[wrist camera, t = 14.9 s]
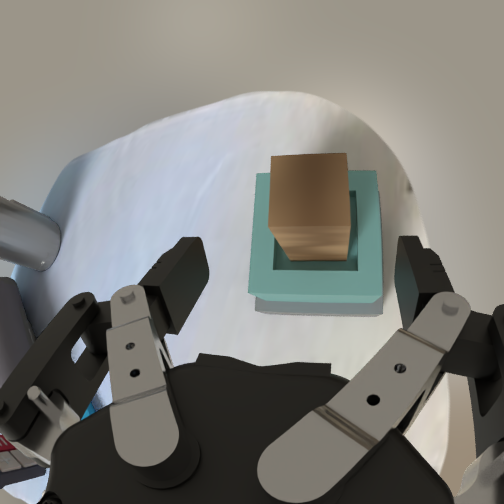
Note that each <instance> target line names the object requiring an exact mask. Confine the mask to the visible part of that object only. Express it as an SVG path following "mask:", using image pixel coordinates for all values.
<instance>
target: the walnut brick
mask: <svg viewBox="0 0 504 504" xmlns="http://www.w3.org/2000/svg"><path fill="white" fill-rule="evenodd" d="M350 227H351V221H350V198H349V181H348V167H347V155H346V153H327V154H301V155H283V156H271V171H270V193H269V214H268V228H269V229H270V231H271V232H272V234H273V235H274V237H275V238H276V240H277V241H278V243H279V244H280V246H281V247H282V249H283V250H284V252H285V253H286V255H287V256H288V258H289V259H290V261H347V254H348V245H349V237H350Z"/></svg>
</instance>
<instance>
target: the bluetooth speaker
mask: <svg viewBox="0 0 504 504" xmlns="http://www.w3.org/2000/svg"><path fill="white" fill-rule="evenodd" d="M35 341H36V339H35V335H34V332H33V329H32V326H31V324H30V322H28V320H27V317H26V313H25V310H24V307H23V303H22V300H21V296H20V293H19V289H18V286H17V284H16V282H15V281H14V280H13V279H11V278H9V277H0V388H1V387H2V385H3V384H4V383H5V381H6V380H7V378H8V377H9V375H10V374H11V373H12V371H13V370H14V369H15V367H16V366H17V364H18V363H19V362H20V360H21V359H22V358H23V356H24V355H25V354H26V353H27V351H28V350H29V349H30V347H31V346H32V345H33V343H34V342H35Z"/></svg>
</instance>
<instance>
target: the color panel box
mask: <svg viewBox="0 0 504 504" xmlns="http://www.w3.org/2000/svg"><path fill="white" fill-rule="evenodd" d="M43 475H45V468H44V467H41V466H40V465H38V464H37V463H36V462H34V461H33V460H32V459H31V458H29V457H27V456H25V455H24V454H23V453H22V452H20V451H19V450H18V449H17V448H16V447H14V446H13V445H12V444H11V443H10V442H9V441H7V440H6V439H5V437H4V436H3V435H0V489H2V488H3V487H4V486H5V485H9V484H13V483H17V482H21V481H25V480H29V479H32V478H36V477H39V476H43Z"/></svg>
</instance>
